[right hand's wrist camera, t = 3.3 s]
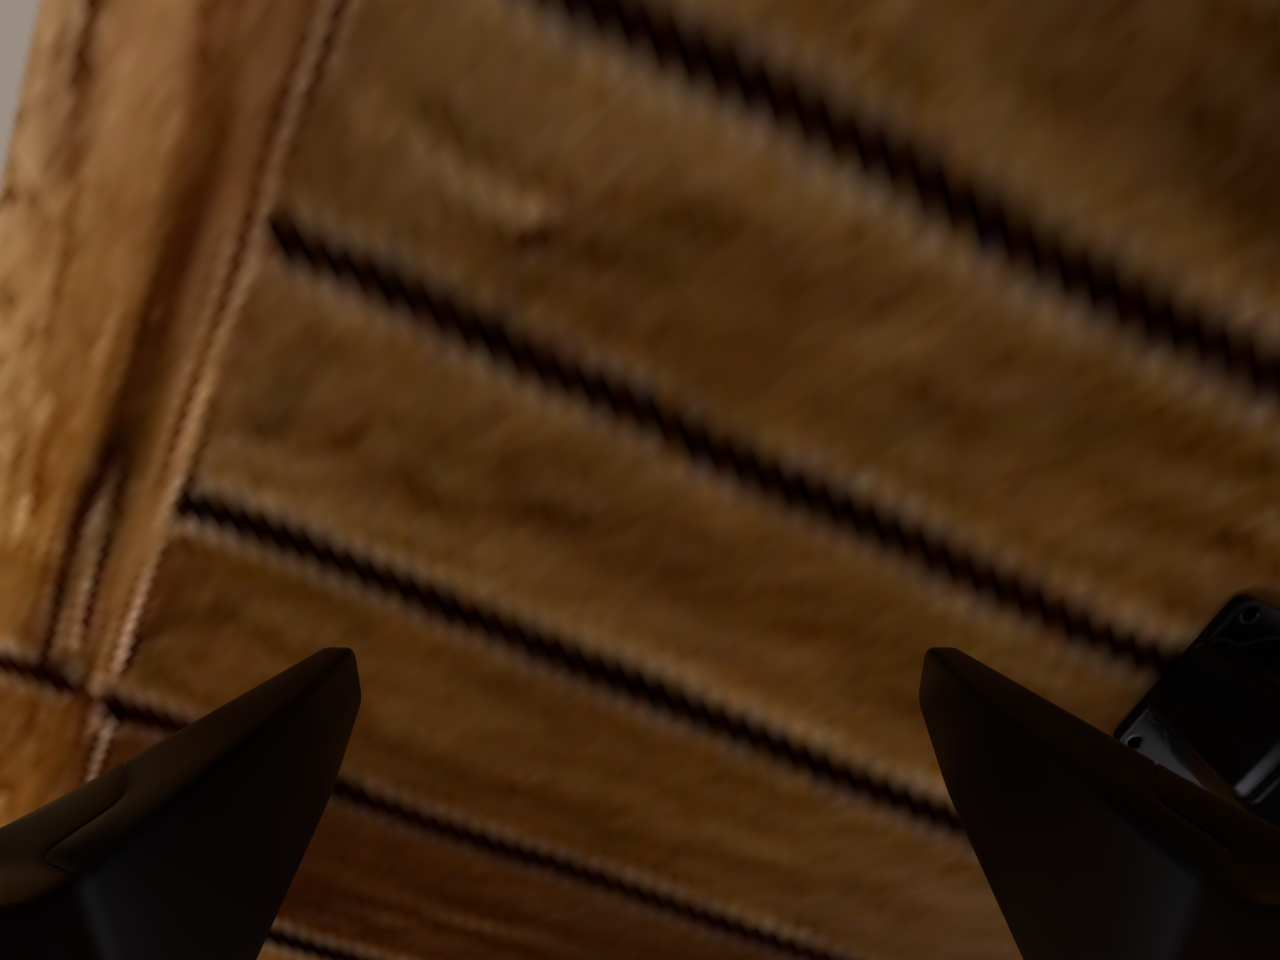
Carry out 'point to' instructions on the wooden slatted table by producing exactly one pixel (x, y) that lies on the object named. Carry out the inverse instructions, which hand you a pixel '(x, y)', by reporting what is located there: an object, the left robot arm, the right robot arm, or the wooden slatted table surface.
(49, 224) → the wooden slatted table surface
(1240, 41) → the wooden slatted table surface
